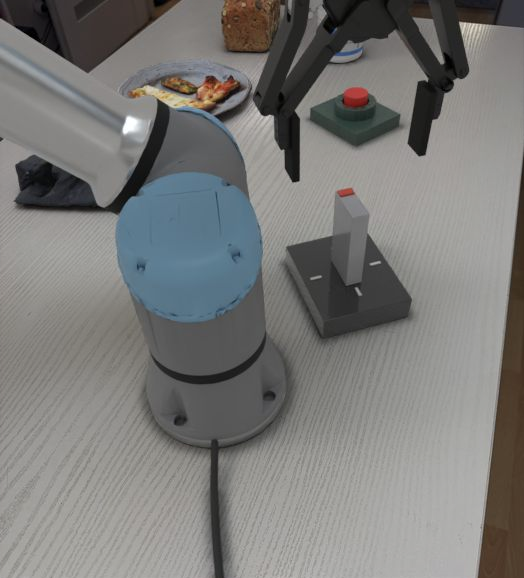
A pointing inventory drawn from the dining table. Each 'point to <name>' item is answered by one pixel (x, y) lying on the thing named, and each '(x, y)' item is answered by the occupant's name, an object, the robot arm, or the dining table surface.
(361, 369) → the dining table surface
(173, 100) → the food plate
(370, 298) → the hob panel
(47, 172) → the dark slate chunk
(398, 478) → the dining table surface
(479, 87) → the dining table surface
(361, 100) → the power button
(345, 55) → the supplement tub
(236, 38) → the bread
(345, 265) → the grey block red corner
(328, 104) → the switch box
